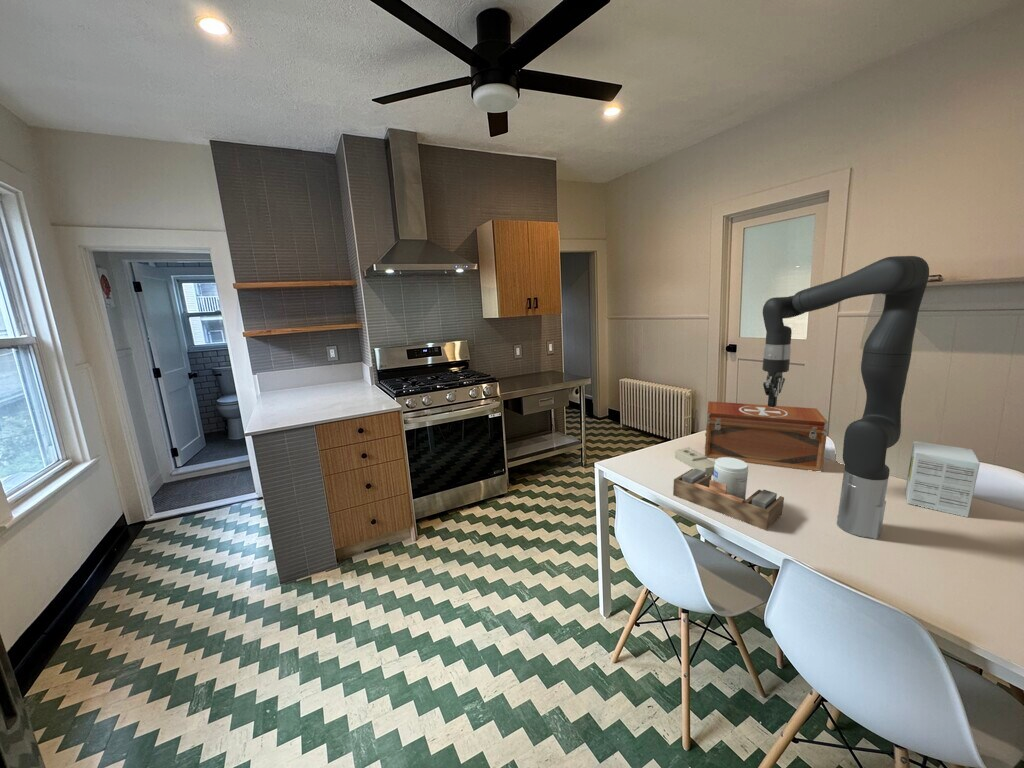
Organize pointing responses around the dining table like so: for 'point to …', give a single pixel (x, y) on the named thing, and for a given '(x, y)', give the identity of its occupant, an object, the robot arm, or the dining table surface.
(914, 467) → the supplement box
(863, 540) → the dining table surface
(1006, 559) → the dining table surface
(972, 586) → the dining table surface
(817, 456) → the wooden box
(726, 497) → the rack
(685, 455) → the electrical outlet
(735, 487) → the supplement tub
